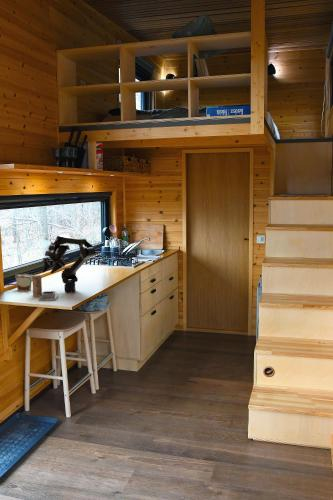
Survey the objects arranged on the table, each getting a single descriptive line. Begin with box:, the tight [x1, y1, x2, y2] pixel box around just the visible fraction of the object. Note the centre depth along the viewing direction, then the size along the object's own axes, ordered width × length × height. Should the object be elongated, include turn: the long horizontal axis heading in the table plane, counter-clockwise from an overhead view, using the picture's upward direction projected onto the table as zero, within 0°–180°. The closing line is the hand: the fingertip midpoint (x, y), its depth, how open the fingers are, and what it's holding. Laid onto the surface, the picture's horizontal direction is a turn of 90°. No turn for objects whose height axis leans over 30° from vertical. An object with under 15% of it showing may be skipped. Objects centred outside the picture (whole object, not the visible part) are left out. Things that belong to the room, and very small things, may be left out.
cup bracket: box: [38, 290, 59, 302], centre depth 305 cm, size 10×10×4 cm
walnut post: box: [31, 274, 43, 297], centre depth 312 cm, size 4×4×13 cm
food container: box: [14, 273, 33, 292], centre depth 330 cm, size 12×6×10 cm, turn 71°
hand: (47, 272), depth 317 cm, fingers open, 9 cm apart
